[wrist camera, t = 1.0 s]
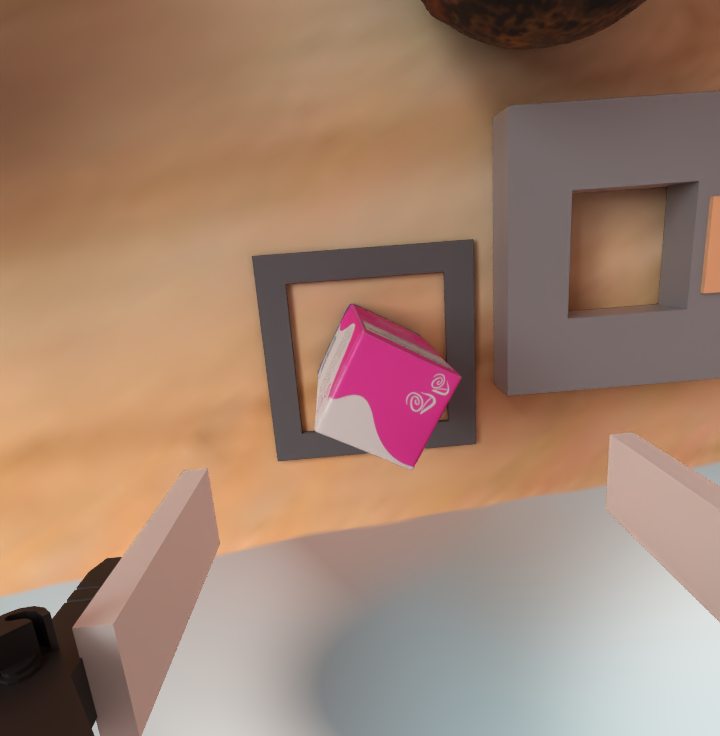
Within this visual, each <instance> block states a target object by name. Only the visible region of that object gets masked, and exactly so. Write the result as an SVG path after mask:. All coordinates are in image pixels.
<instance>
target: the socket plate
mask: <svg viewBox="0 0 720 736" xmlns="http://www.w3.org/2000/svg"><path fill="white" fill-rule="evenodd" d="M655 187H667V197H666V210H665V222H664V235H663V248H662V260H661V273H660V285H659V298H658V304H651V305H638V306H626V307H613V308H601V309H588V310H576V311H568V301H569V271H570V242H571V212H572V194H574V193H588V192H601V191H615V190H628V189H642V188H655ZM493 309H494V385H496V386H497V387H498V388H499V389H500V390H501V391H502V392H504V393H505V394H506V395H507V396H515V395H527V394H539V393H551V392H563V391H575V390H586V389H598V388H610V387H622V386H634V385H646V384H658V383H670V382H682V381H694V380H706V379H718V378H720V91H709V92H694V93H680V94H665V95H651V96H637V97H622V98H608V99H594V100H579V101H565V102H551V103H536V104H522V105H508V106H507V107H506V108H505V109H503V110H502V111H501V112H500V113H499V114H497V115H496V116H495V117H494V118H493Z"/></svg>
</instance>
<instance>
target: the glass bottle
mask: <svg viewBox="0 0 720 736" xmlns="http://www.w3.org/2000/svg"><path fill="white" fill-rule="evenodd" d="M421 1H422V2H423V3H424V5H425V7H426V9H427V10H428V11H429V12H430V14H431V15H432V16H433V17H435V18H436V19H438V20H440V21H442V22H444V23H446V24H448V25H450V26H451V27H452V28H455V29H456V30H458V31H459V32H461V33H463V34H464V35H467V36H468V37H470V38H473V39H476V40H479V41H481V42H484V43H487V44H491V45H495V46H500V47H506V48H514V49H535V48H546V47H553V46H558V45H562V44H566V43H570V42H573V41H576V40H579V39H581V38H584V37H587V36H590V35H592V34H594V33H596V32H598V31H601V30H603V29H605V28H606V27H609V26H610V25H612V24H614V23H615V22H617V21H618V20H620V19H621V18H623V17H624V16H626V15H627V14H629V13H630V12H631V11H633V10H634V9H636V8H637V7H638V6H640V5H641V4H642V3H643V2H645V1H646V0H421Z"/></svg>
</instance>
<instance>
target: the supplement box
mask: <svg viewBox="0 0 720 736" xmlns="http://www.w3.org/2000/svg"><path fill="white" fill-rule="evenodd" d="M460 380H461V376H460V375H459V374H458V373H457V372H456V371H455V370H454V369H453V368H452V367H451V366H450V365H449V364H448V363H447V362H446V361H445V360H444V359H443V358H442V357H441V356H440V355H439V354H438V353H437V352H436V351H435V350H434V349H433V348H432V347H431V346H430V345H429V344H428V343H427V342H426V341H425V340H424V339H423V338H422V337H421V336H420V335H418V334H416V333H414V332H412V331H410V330H408V329H405V328H403V327H401V326H399V325H397V324H395V323H393V322H391V321H389V320H387V319H385V318H383V317H381V316H378V315H376V314H374V313H372V312H370V311H368V310H366V309H364V308H361V307H359V306H357V305H355V304H350V305H349V307H348V309H347V310H346V312H345V314H344V316H343V318H342V320H341V323H340V325H339V327H338V329H337V331H336V333H335V335H334V337H333V339H332V342H331V344H330V346H329V348H328V350H327V352H326V355H325V357H324V359H323V361H322V364H321V366H320V368H319V371H318V389H317V401H316V417H315V431H316V432H318V433H320V434H323V435H325V436H328V437H330V438H333V439H335V440H338V441H340V442H343V443H345V444H348V445H351V446H353V447H355V448H358V449H360V450H363V451H365V452H368V453H371V454H373V455H376V456H378V457H380V458H383V459H385V460H388V461H390V462H392V463H395V464H397V465H399V466H402V467H404V468H407V469H409V470H412V469H413V468H414V466H415V464H416V462H417V461H418V459H419V457H420V455H421V453H422V451H423V449H424V447H425V446H426V444H427V442H428V440H429V438H430V436H431V434H432V432H433V431H434V429H435V427H436V425H437V423H438V421H439V419H440V417H441V415H442V414H443V412H444V410H445V408H446V406H447V404H448V402H449V400H450V399H451V397H452V395H453V393H454V391H455V389H456V387H457V385H458V384H459V382H460Z"/></svg>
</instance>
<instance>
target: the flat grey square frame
mask: <svg viewBox="0 0 720 736" xmlns="http://www.w3.org/2000/svg"><path fill="white" fill-rule="evenodd" d="M252 260H253V268H254V276H255V284H256V292H257V300H258V308H259V316H260V324H261V332H262V340H263V348H264V355H265V363H266V371H267V379H268V387H269V395H270V403H271V411H272V419H273V427H274V435H275V443H276V451H277V459H278V461H285V460H297V459H308V458H320V457H331V456H343V455H355V454H366V453H368V452H365V451H363V450H360V449H358V448H355V447H353V446H351V445H348V444H345V443H343V442H340V441H338V440H335V439H333V438H330V437H328V436H325V435H323V434H320V433H318V432H316V431H307V432H302V426H301V417H300V408H299V399H298V390H297V381H296V372H295V363H294V354H293V345H292V336H291V327H290V318H289V309H288V300H287V291H286V284H290V283H303V282H316V281H329V280H342V279H355V278H368V277H380V276H393V275H406V274H419V273H432V272H444V302H445V335H446V362H447V363H448V364H449V365H450V366H451V367H452V368H453V369H454V370H455V371H456V372H457V373H458V374H459V375H460V376H461V380H460V382H459V384H458V385H457V387H456V389H455V391H454V393H453V395H452V397H451V399H450V400H449V402H448V420H439V421H438V423H437V425H436V427H435V429H434V431H433V432H432V434H431V436H430V438H429V440H428V442H427V444H426V446H425V447H424V448H436V447H447V446H459V445H471V444H476V399H475V332H474V265H473V239H471V240H457V241H444V242H431V243H418V244H405V245H392V246H379V247H366V248H352V249H339V250H326V251H313V252H300V253H287V254H274V255H260V256H252Z"/></svg>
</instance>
